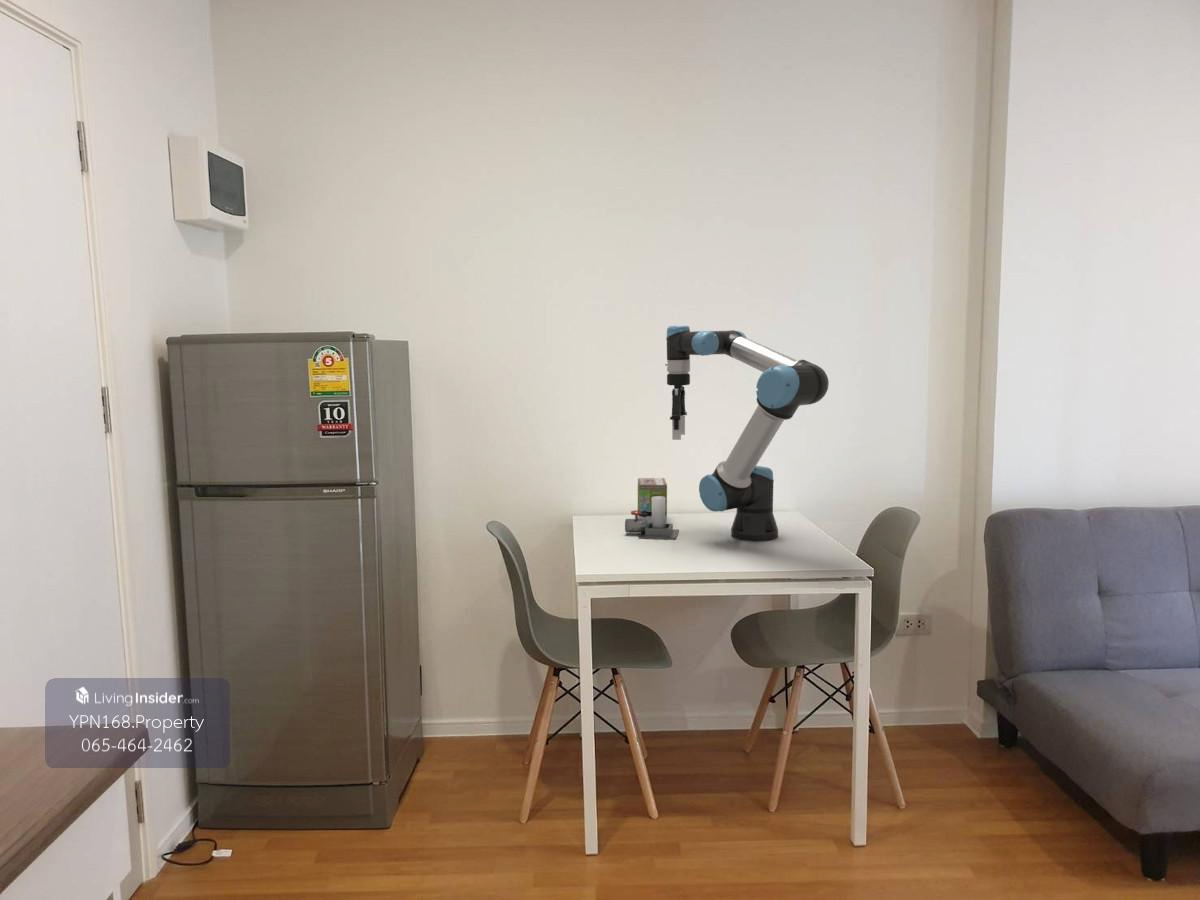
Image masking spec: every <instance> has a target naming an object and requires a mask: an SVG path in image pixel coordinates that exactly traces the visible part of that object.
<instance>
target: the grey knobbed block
mask: <svg viewBox="0 0 1200 900" xmlns="http://www.w3.org/2000/svg"><path fill="white" fill-rule="evenodd" d="M630 514H631V515H632V516H634V518H626V519H625V521H624V532H625V533H631V534H633V533H636V534H639V535H638V538H637V539H639V540H642V539H643V540H671V541H672V540H676V539H677V537H678V534H679V532H680V529H675V528H674V527H673V526H674V524H673V523H666V528H652V523H648V520H647V519H638V515H641V514H642V511H638V509H637V510H631V511H630Z"/></svg>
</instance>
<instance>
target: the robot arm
mask: <svg viewBox="0 0 1200 900" xmlns="http://www.w3.org/2000/svg"><path fill="white" fill-rule="evenodd" d="M665 340H666V362H665V367H666V372H667V374H666V385H668V386H674V388H672V391H671V394H672V399H671V400H672V401H671V402H672V403H671V404H672V405H671V416H669V420H672V423H671V424H672V425H671V426H672V427H671V429H672V430H671V431H672V436H671V437H672V439H671V440H674V441H675V440H676V441H677V440H678V441H681V440H682V436H684V435H686V416H687V415H688V412H687V411H686V402H685V399H686V397H685V396H686V391H685V386H689V385H691V378H690V377H691V374H690V373H689V372H691V359H690V358H691V356H702V357H703V356H712V355H713V356H714V355H726V356H729V357H731V358H732V359H734V360H737V361H738V362H739V361H740V362H741V363H743V364H745V365H748V366H749V367H752V369H753V368H754V369H755V370H758V371H760V372H762V373H761V374H760V376H759V377H758V380H757V381H756V386H755V387H756V389H757V390H756V391H755V392H756V403H757V407H756V409H754V412H753V414H752V415H751V417H750V419H749V421H748V422H747V424H746V426H745V427H744V429H743V431H742V432H741V434H740V436H739V438H738V439H737V441H736V443H735V445H734V446H733V448H732V449H731V452H730V453H729V455H728V457H727V459H726V460H725V461H720V462H719V463H718V464H717V465H716V467H715V469H714V470H713V473H711V474H706V475H705V476H703V477H701V479H700V482H699V485H698V492H699V498H700V500H701V502H702V503H703V505H704V506H705V508H706V509H708V510H709V511H710V512H715V513H716V512H725V511H729V510H735V509H736V513H735V516H734V519H733V522H732V525H731V529H730V536H731V537H732V538H733V539H734V538H735V539H737V540H742V541H750V542H762V541H763V542H766V541H772V540H775V539H777V538H778V537H779V528H778V525H777V522H776V519H775V516H774V481H775V480H774V473H773V470H772V469H771V468H770V467H767V466H761V465H760V466H759V465H758V463H759V461H760V460H761V458H762V456H763V455H764V453H765V452H766V450H767V448H768V447H769V445H770V444H771V442H772V440H773V439H774V437H775V436H776V433H778V431H779V429H780V428H781V426H782V424H783V422H784V421H787V420H791V419H792V418H793V416H794V415H795V413H796V412H797V410H798V409H799V407H800V406H807V405H813V404H816V403H818V402H820V401H821V400H823V398H824V397H825V396H826V394H827V393H828V389H829V384H830V383H829V377H828V375H827V373H826V371H825V370H824V369H823V368H822V367H821V366H819V365H817V364H814V363H812V362H810V361H808V360H806V359H798V360H797V359H795V358H792V357H790V356H788V355H785V354H784V353H781V352H779V351H776V350H775V349H772V348H769V347H768V346H765V345H762V344H760V343H758V342H756V341H754V340H752V339H749V338H747V336H746V335H745V333H744V332H742V331H741V330H735V329H734V330H733V329H732V330H714V331H713V330H701V331H699V330H697V331H691V329H690V326H689V325H669V326H667V329H666V338H665Z"/></svg>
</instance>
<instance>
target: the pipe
mask: <svg viewBox="0 0 1200 900" xmlns="http://www.w3.org/2000/svg"><path fill="white" fill-rule="evenodd" d="M652 528H666V515H665V497H663V496H654V497H652Z"/></svg>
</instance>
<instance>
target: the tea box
mask: <svg viewBox="0 0 1200 900" xmlns="http://www.w3.org/2000/svg"><path fill="white" fill-rule="evenodd" d="M654 496H663V497H665V515H666V523H667V522H668V484H667V482H666V479H665V478H664V477H645V478H644V477H640V478H637V510H638V511H642V514H641V515H638V519H647V520H648V523H652V497H654ZM667 524H668V523H667Z"/></svg>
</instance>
